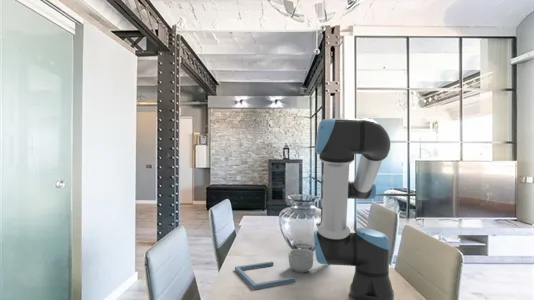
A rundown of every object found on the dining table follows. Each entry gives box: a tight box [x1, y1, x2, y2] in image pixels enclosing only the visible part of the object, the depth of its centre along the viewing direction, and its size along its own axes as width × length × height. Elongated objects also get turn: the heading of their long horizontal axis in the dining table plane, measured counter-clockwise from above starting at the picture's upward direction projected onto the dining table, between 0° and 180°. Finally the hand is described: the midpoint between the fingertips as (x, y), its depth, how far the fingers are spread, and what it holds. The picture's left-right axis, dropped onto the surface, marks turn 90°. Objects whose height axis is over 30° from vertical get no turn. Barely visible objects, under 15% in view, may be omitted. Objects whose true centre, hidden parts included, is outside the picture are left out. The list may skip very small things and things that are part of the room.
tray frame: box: [234, 260, 296, 291], centre depth 132 cm, size 22×18×2 cm
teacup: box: [287, 247, 314, 273], centre depth 141 cm, size 14×11×8 cm
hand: (328, 258), depth 147 cm, fingers closed
